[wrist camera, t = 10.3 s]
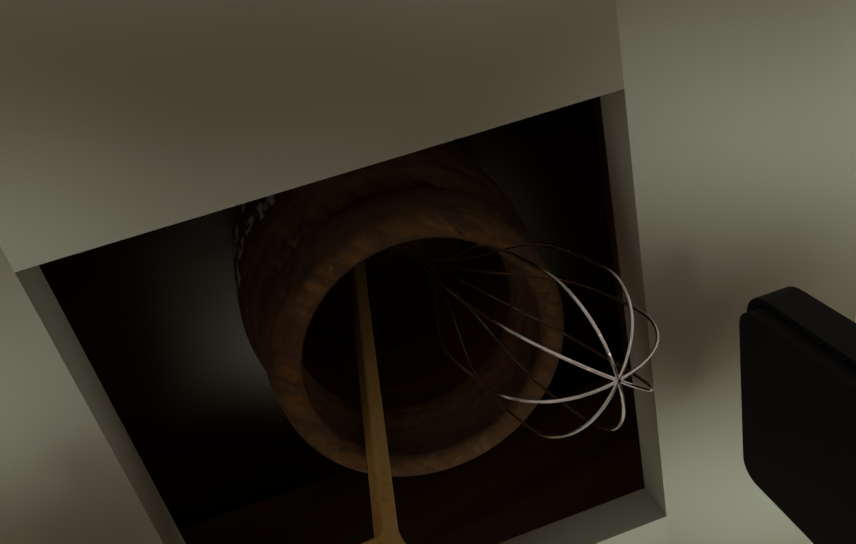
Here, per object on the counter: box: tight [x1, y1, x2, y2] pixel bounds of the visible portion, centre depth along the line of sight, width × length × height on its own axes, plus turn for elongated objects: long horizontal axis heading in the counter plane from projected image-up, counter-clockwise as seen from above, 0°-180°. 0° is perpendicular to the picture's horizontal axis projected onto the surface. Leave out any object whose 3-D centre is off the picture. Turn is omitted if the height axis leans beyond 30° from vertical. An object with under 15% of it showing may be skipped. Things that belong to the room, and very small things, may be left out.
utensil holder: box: [232, 141, 660, 544], centre depth 13 cm, size 6×6×12 cm
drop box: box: [0, 0, 856, 544], centre depth 15 cm, size 16×16×8 cm
